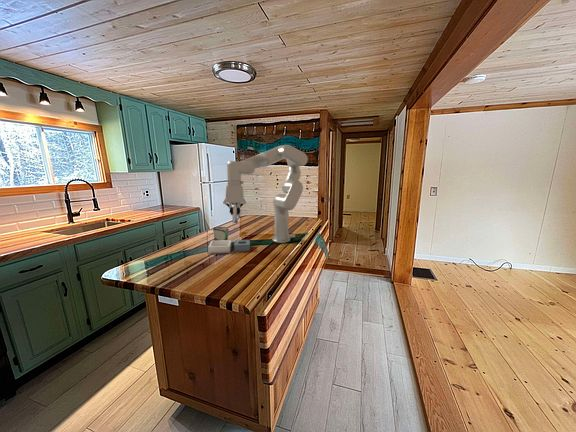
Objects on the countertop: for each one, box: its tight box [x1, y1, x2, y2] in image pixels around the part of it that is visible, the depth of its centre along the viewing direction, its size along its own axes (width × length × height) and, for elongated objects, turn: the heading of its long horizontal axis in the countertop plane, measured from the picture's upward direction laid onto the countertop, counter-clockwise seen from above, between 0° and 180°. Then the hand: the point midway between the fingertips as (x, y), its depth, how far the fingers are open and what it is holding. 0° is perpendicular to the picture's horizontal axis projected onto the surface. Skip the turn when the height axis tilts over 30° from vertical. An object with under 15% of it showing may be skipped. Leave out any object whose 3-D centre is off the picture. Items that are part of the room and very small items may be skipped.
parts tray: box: [207, 239, 232, 255], centre depth 140 cm, size 12×12×4 cm
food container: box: [212, 226, 230, 241], centre depth 153 cm, size 12×6×10 cm, turn 58°
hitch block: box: [233, 239, 251, 253], centre depth 142 cm, size 9×9×4 cm
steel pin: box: [231, 203, 239, 224], centre depth 137 cm, size 3×3×12 cm
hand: (235, 214), depth 137 cm, fingers closed on steel pin, 3 cm apart
